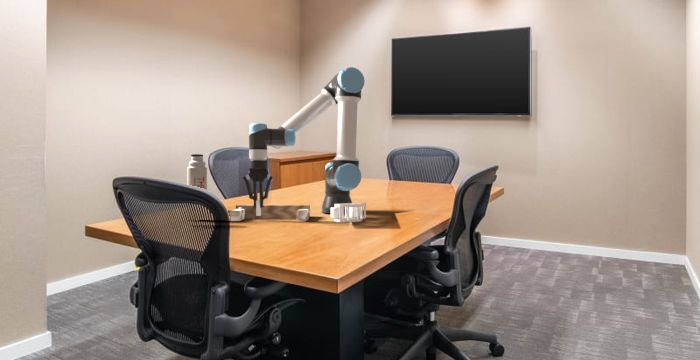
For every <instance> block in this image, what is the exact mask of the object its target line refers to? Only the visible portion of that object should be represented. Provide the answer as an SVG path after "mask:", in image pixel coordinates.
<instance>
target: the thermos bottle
mask: <svg viewBox="0 0 700 360" xmlns="http://www.w3.org/2000/svg"><path fill="white" fill-rule="evenodd" d="M190 156H191V158H190V159H191V160H190V161H189V162H188V166H187V168H186V169H187V171H186V174H187V177H186V178H187V179H186V180H187V183H186V185H192V186H197V187H200V188H204V189H206V190H207V191H208V179H207V178H208V168H207V167H206V162H205V161H204V154H201V153H196V154H195V153H194V154H193V153H192V154H190Z"/></svg>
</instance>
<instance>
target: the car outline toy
mask: <svg viewBox="0 0 700 360" xmlns="http://www.w3.org/2000/svg"><path fill="white" fill-rule="evenodd" d="M343 207H345V213H344V208H343ZM330 218H332V219H333V221H334V222H338V223H357V222H362V221H363V219H364V220H365V219H367V202H352V203H342V204H334V207H331V213H330Z"/></svg>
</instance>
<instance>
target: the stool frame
mask: <svg viewBox="0 0 700 360" xmlns="http://www.w3.org/2000/svg"><path fill="white" fill-rule="evenodd" d="M239 207H244V209H245V219H244V220H296V223H297V222H298V223H300V222H301V223H302V222H303V223H305V222H307V221H308V220H309V219H310V217H311V216H310V215H311V213H310V212H311V205H310V204H263V208H261V216H256V208H254V204H236V205H235V209H239ZM227 210H228V213H229V216H230V211H231V210H232V209H227Z"/></svg>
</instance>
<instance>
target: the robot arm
mask: <svg viewBox="0 0 700 360" xmlns="http://www.w3.org/2000/svg"><path fill="white" fill-rule="evenodd" d="M365 83H366V82H365V77H364V74H363V72H361V70H359V69H358V68H356V67H353V66H350V67H349V66H347V67H345V68H342V69H341V70H339V72H338V73H336V74H335V75H334V76H333V78H332V79H331V80H330V81H329V82H328V83H326V85H325V86H324V87H323V88H322V89H321V93H319V94H317V95H316V96H315V97H314V98H313V99H312V100H310V101H309V102H307V104H306V105H304V106H303V107H302V108H301V109H300V110H299V111H297V112H296V113H295V114H293V116H291V117H290V118H289V119H287V120H286V121H285V122H284V123H283V124H281V126H279V127H278V128H269V127H268V125H267V124H266V123H261V122H259V123H258V122H254V123H250V125H249V126H248V127H249V128H248V129H249V130H248V144H249V145H248V146H249V148H248V149H249V150H248V158H249V163H248V164H249V165H248V166H249V167H248V168H249V171H248V172H247V174H246V175H245V176H242V179H243V180H244V182H245V186H246V190H247V194H248V197H249V199H250V200H253V205H254V208H256V216H261V208H263V205H264V201H265V200H266V199H268V198H269V193H270V189H271V186H272V185H271V184H272V182H273V180H274V178H275V177H274V176H273V175H270V173H269V171H268V160H267V159H268V147H271V148H273V149H279V150H280V149H281V148H284V147H288V148H289V147H294V146H295V145H296V136H297V135H298V134H300V132H302V131H303V130H304V129H305V128H306V127H308V126H309V125H310V124H311V123H313V121H315V120H317V118H318V117H320V116H321V115H322V114H323V113H324V112H325V111H327V110H328V109H329V108H330V107H332V106H334V107H335V106H336V105H337V127H336V128H337V130H336V131H337V132H336V155H335V157H334V158H333V159H332V161H331V162H328V163H326V164H325V169H324V179H325V180H324V197H323V201H322V205H321V213H327V214H331V207H334V204H342V203H353V201H352V198H351V190H354V189H356V188H357V187H358V186H359V185H360V183H361V181H362V172H361V170H360V168H359V167H360V160H359V159H358V158H357V155H356V154H357V131H358V130H357V127H358V125H357V124H358V104H359V102H360V101H362V89H363V88H364V86H365ZM250 179H251V180H252V185H253V190H252V186H251V182H250ZM266 179H267V181H266V186H265V190H264V185H265V184H264V182H265V180H266ZM258 185H259V193H258ZM258 194H259V198H258ZM343 208H344V214H345V207H343Z"/></svg>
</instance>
